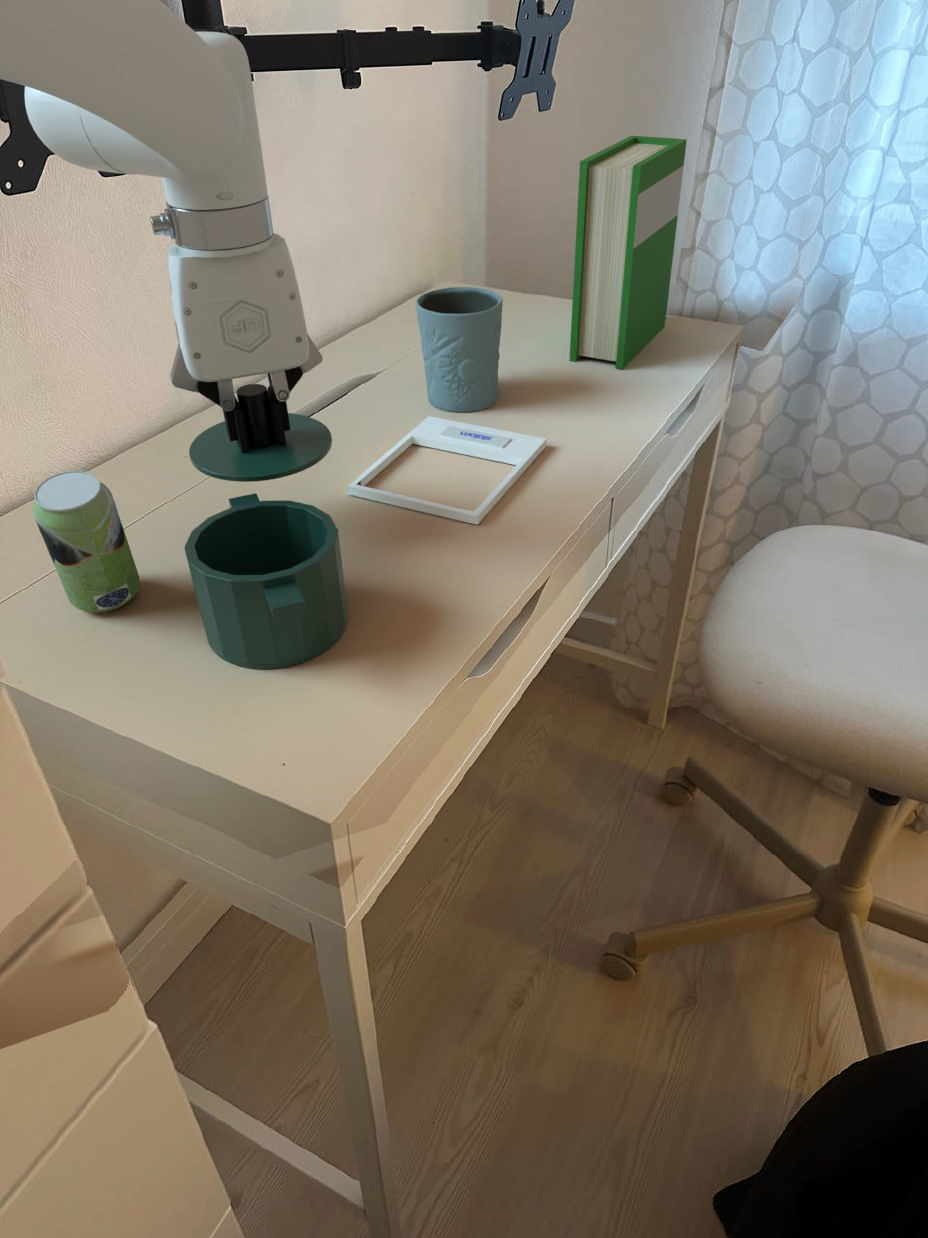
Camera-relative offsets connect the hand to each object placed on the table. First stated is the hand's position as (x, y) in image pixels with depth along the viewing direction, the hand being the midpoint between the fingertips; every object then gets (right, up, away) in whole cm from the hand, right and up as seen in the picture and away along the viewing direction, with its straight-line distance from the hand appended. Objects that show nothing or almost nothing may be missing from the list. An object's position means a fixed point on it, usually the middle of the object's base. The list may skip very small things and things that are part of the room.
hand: (260, 440), depth 80 cm
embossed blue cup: (+18, +11, +30) cm, 37 cm away
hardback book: (+40, +22, +44) cm, 63 cm away
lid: (0, -1, 0) cm, 1 cm away
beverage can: (-13, -15, -2) cm, 20 cm away
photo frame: (+17, 0, +15) cm, 23 cm away
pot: (+3, -16, -5) cm, 17 cm away
